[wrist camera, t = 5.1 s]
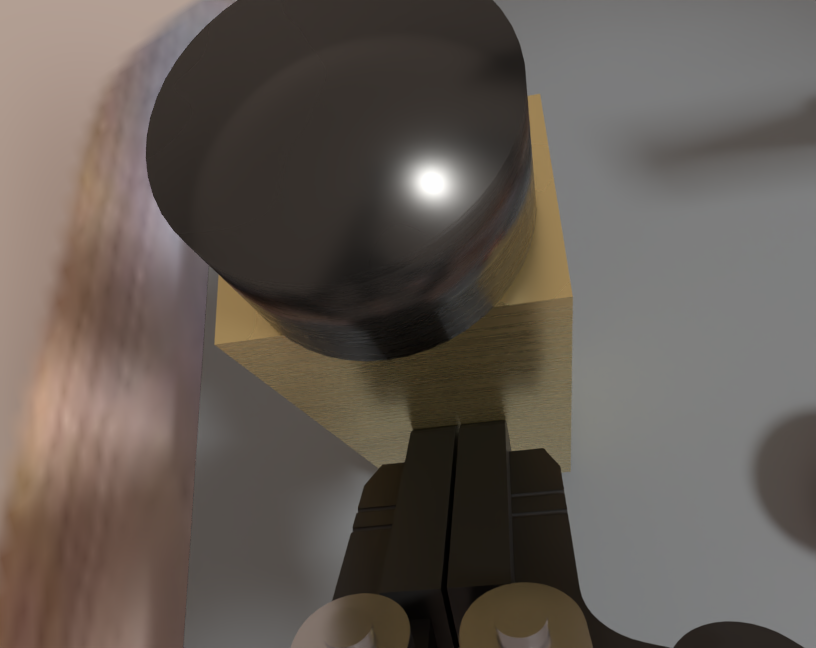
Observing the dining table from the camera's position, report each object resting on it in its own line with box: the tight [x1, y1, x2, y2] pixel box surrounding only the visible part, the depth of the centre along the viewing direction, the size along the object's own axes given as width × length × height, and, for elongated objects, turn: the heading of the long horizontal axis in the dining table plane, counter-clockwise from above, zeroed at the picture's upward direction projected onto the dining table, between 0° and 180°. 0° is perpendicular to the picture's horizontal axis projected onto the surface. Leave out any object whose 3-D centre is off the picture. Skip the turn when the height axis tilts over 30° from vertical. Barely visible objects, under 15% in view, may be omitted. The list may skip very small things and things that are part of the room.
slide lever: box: [146, 0, 573, 473], centre depth 11 cm, size 4×3×11 cm
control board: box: [183, 0, 816, 648], centre depth 17 cm, size 24×20×3 cm
